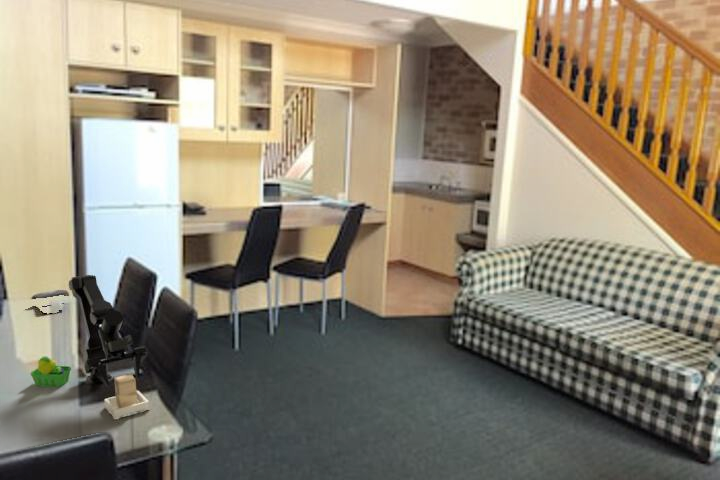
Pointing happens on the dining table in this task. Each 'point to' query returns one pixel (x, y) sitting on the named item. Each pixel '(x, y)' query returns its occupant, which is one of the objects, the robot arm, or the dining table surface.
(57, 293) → the glasses case
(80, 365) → the dining table surface
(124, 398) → the light brown tall block
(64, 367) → the fruit basket
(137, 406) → the tray
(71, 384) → the dining table surface
